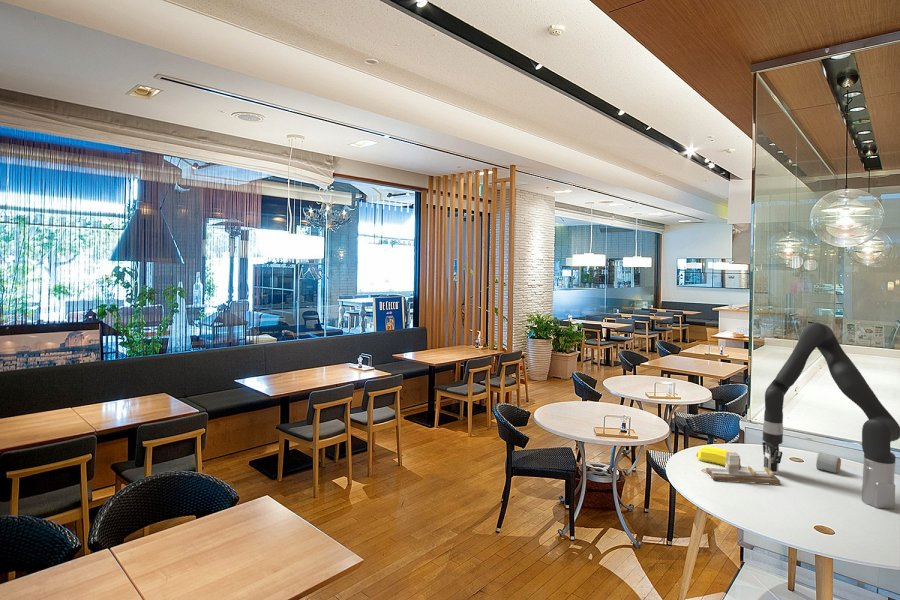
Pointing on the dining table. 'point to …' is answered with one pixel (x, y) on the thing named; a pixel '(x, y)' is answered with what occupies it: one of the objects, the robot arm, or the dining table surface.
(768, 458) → the loose white rectangular block
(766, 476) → the wooden ladder shelf
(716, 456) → the yellow faceted pepper
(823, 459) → the ceramic mug
